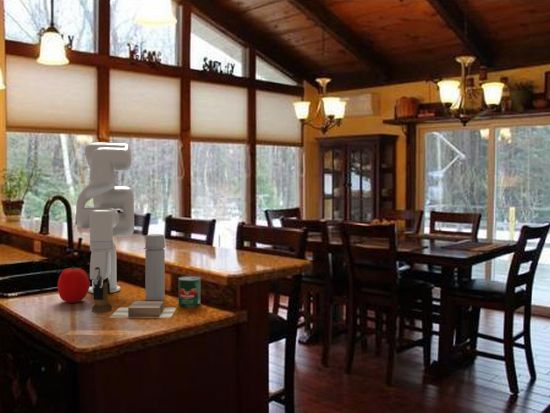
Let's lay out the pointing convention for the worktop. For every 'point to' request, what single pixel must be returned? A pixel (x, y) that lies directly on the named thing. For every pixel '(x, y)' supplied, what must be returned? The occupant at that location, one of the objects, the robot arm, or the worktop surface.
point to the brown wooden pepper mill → (102, 304)
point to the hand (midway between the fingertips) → (101, 296)
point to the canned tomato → (189, 291)
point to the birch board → (123, 313)
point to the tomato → (73, 285)
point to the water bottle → (155, 267)
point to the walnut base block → (146, 309)
